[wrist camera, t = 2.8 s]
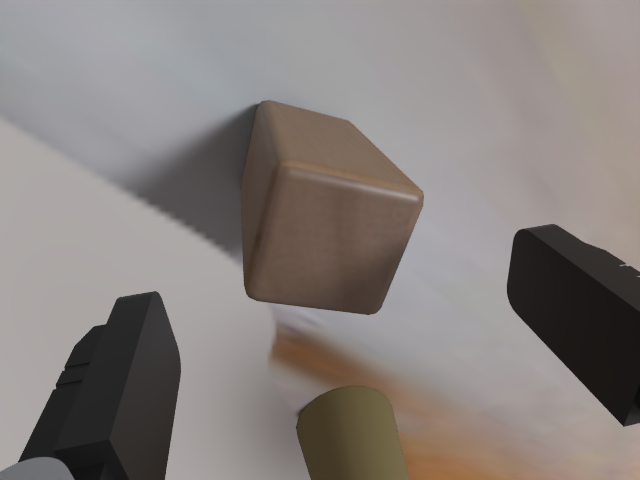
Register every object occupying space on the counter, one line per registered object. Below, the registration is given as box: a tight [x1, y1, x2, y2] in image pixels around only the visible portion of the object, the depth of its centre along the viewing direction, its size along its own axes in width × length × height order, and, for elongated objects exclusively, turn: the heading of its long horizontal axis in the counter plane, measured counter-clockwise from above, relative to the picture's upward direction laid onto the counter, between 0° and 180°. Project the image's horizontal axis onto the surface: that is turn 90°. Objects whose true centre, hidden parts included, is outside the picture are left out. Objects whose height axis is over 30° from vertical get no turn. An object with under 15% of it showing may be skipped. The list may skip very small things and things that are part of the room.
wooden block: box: [240, 100, 424, 315], centre depth 14 cm, size 4×4×8 cm
